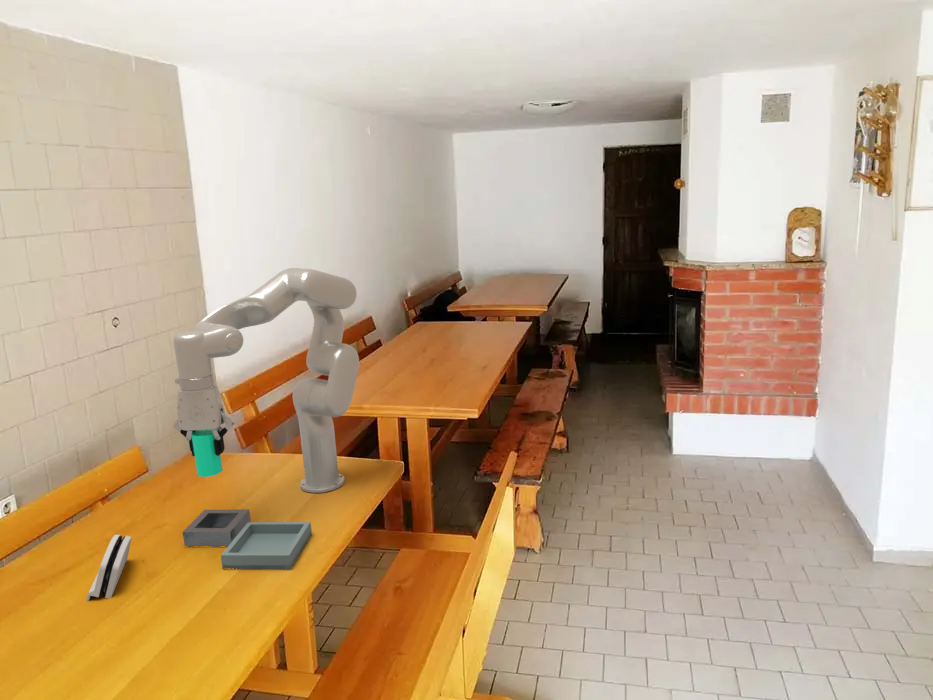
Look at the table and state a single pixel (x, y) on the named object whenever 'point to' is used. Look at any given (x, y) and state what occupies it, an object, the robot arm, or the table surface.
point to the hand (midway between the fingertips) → (208, 452)
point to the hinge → (111, 567)
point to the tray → (267, 545)
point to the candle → (206, 454)
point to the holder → (206, 536)
